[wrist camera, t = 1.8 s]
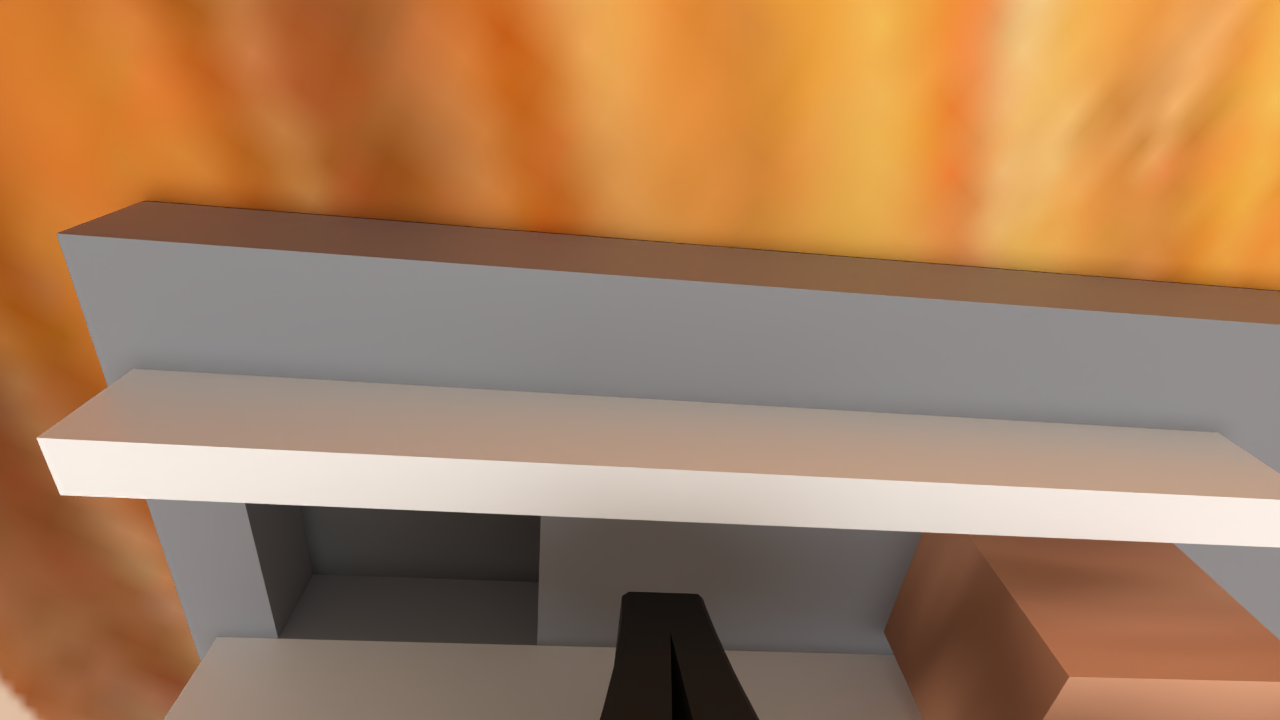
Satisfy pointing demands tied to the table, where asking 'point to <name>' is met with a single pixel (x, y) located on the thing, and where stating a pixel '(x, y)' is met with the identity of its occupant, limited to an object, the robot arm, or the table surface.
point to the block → (1076, 633)
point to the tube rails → (618, 512)
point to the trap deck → (631, 368)
